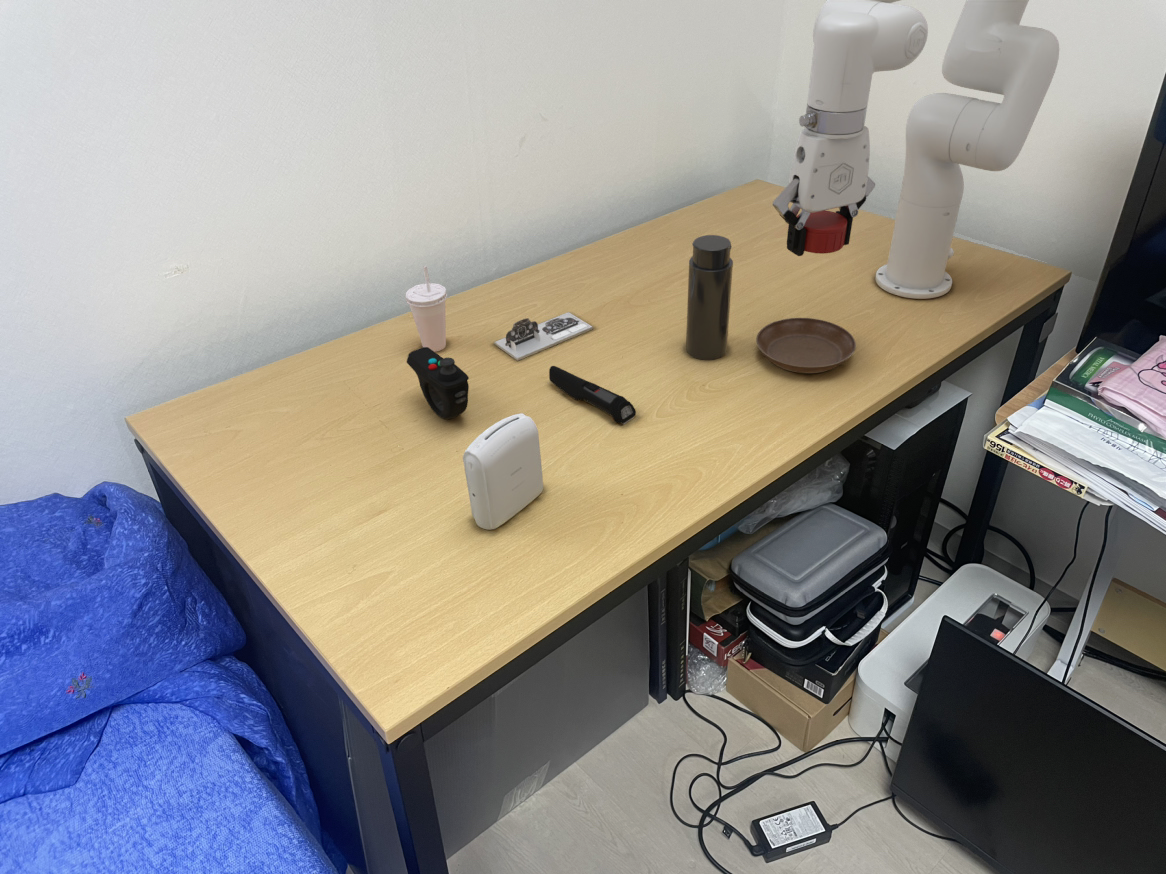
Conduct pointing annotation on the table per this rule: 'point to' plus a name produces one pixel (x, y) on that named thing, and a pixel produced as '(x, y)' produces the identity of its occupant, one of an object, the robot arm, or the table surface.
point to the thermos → (709, 297)
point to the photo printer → (503, 470)
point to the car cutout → (540, 335)
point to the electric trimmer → (593, 395)
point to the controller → (440, 382)
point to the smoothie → (429, 312)
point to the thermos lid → (825, 232)
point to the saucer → (805, 344)
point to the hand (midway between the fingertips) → (817, 246)
